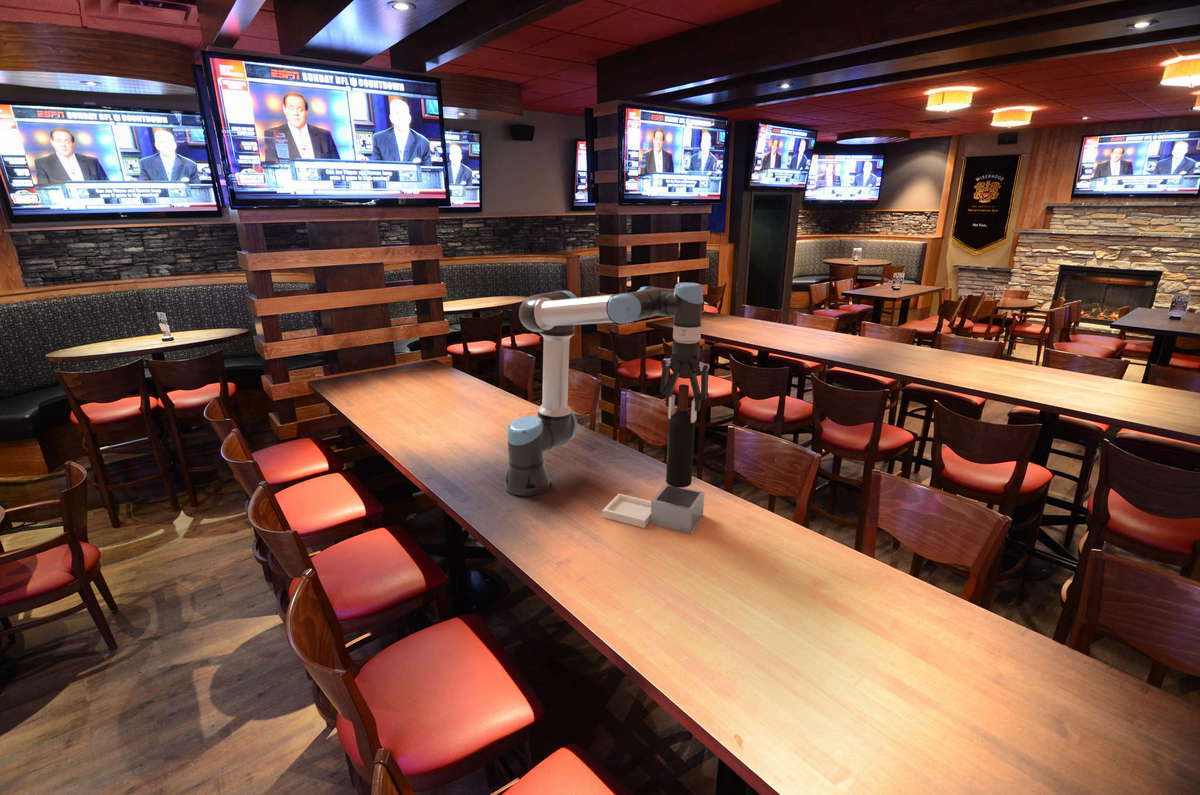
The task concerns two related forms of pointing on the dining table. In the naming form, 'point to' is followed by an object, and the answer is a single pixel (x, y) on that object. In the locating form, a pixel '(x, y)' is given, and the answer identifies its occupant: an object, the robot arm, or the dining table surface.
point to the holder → (677, 508)
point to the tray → (628, 510)
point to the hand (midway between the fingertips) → (682, 419)
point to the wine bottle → (680, 443)
